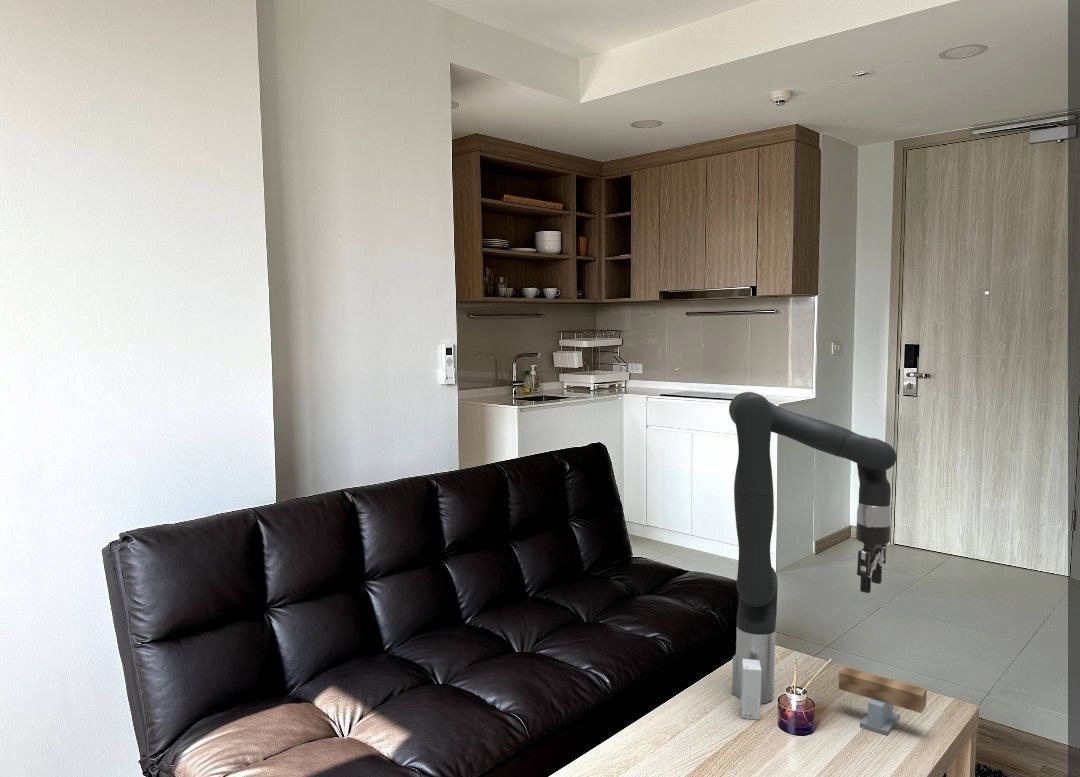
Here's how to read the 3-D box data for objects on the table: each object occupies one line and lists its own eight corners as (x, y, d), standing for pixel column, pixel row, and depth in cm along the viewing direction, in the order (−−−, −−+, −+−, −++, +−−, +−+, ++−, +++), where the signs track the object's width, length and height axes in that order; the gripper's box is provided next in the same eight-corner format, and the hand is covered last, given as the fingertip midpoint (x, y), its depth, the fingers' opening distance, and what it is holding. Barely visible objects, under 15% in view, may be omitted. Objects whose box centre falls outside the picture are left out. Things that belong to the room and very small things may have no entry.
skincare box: (760, 720, 180) (761, 670, 179) (741, 718, 181) (742, 668, 180) (758, 707, 186) (759, 659, 185) (740, 706, 187) (741, 657, 186)
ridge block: (859, 726, 177) (860, 701, 177) (873, 710, 185) (873, 685, 184) (887, 735, 173) (888, 709, 173) (899, 718, 181) (900, 693, 181)
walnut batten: (838, 688, 183) (839, 672, 182) (844, 682, 186) (844, 666, 185) (921, 713, 171) (922, 695, 171) (925, 706, 174) (926, 689, 174)
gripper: (866, 513, 195) (864, 577, 196) (847, 525, 184) (845, 591, 185) (898, 518, 190) (895, 583, 191) (880, 530, 179) (878, 599, 180)
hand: (870, 587), depth 188 cm, fingers open, 8 cm apart
